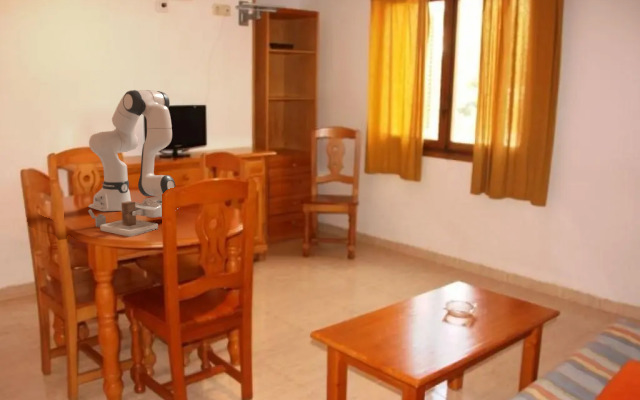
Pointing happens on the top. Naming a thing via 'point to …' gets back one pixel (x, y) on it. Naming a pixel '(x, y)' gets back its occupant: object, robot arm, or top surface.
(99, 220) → the lighter
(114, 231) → the tray
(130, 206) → the walnut block
